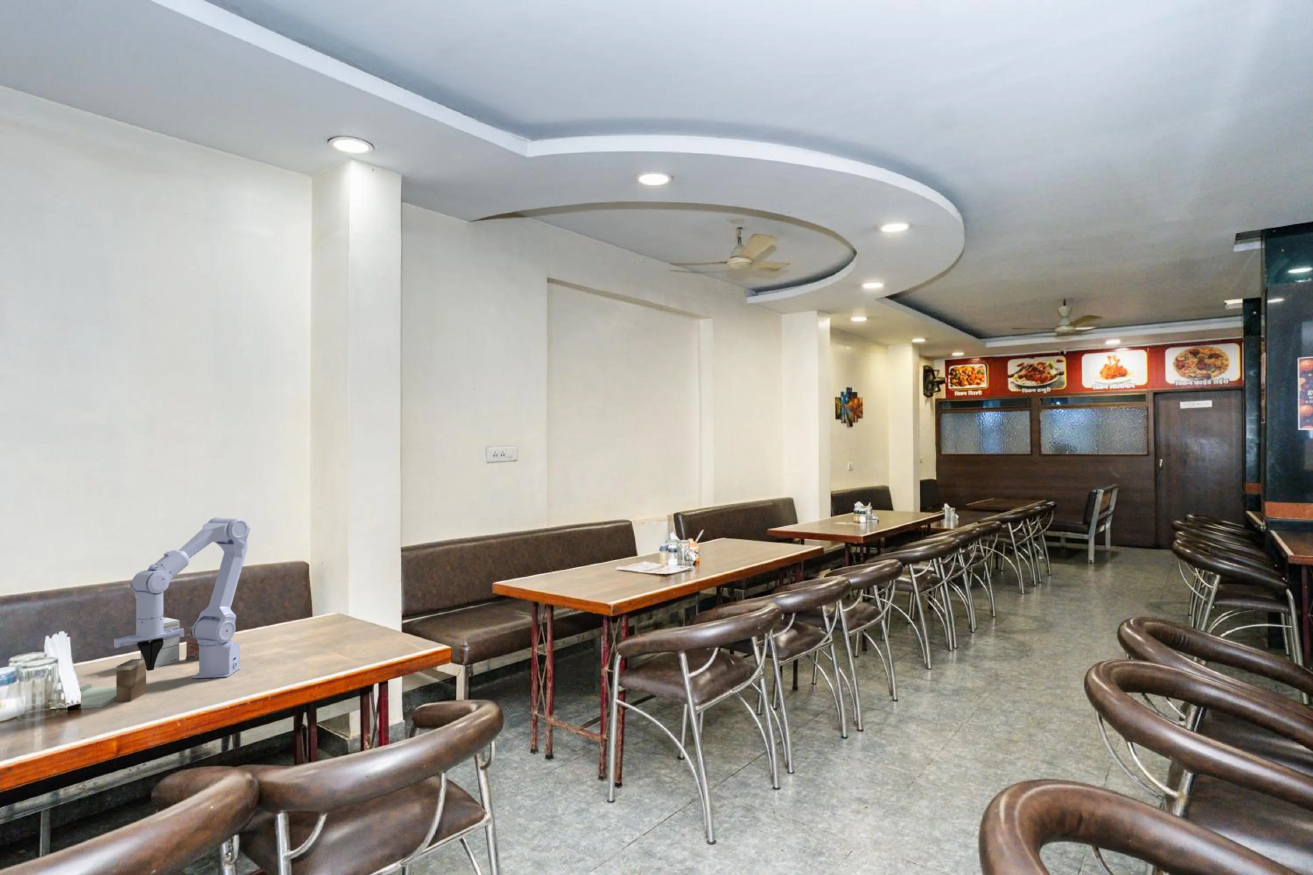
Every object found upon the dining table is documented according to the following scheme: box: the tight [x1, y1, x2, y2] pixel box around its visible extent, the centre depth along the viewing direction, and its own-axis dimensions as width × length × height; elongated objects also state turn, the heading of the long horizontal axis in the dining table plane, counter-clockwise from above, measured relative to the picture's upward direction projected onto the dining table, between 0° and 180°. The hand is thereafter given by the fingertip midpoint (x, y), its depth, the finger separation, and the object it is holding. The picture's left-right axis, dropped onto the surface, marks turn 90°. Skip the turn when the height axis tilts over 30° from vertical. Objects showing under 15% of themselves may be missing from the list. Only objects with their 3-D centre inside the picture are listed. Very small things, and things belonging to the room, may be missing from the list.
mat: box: [79, 683, 116, 709], centre depth 177 cm, size 12×13×2 cm
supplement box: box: [140, 617, 180, 668], centre depth 207 cm, size 7×7×13 cm
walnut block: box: [115, 658, 147, 703], centre depth 178 cm, size 4×6×9 cm, turn 5°
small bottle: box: [185, 626, 199, 662], centre depth 211 cm, size 8×3×10 cm, turn 105°
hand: (150, 669), depth 179 cm, fingers closed
